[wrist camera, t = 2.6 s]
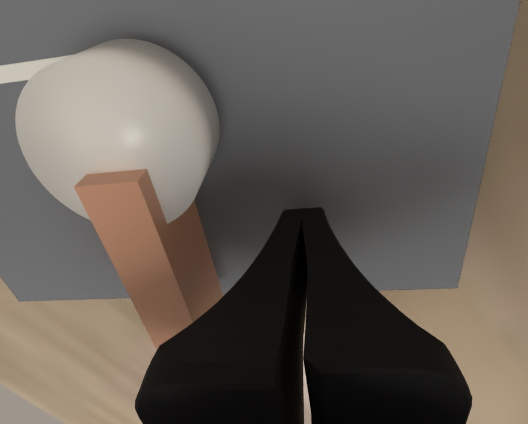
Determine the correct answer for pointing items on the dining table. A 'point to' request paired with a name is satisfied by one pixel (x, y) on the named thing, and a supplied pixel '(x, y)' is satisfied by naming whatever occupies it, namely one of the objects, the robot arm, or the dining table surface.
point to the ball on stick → (131, 168)
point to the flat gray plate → (281, 130)
